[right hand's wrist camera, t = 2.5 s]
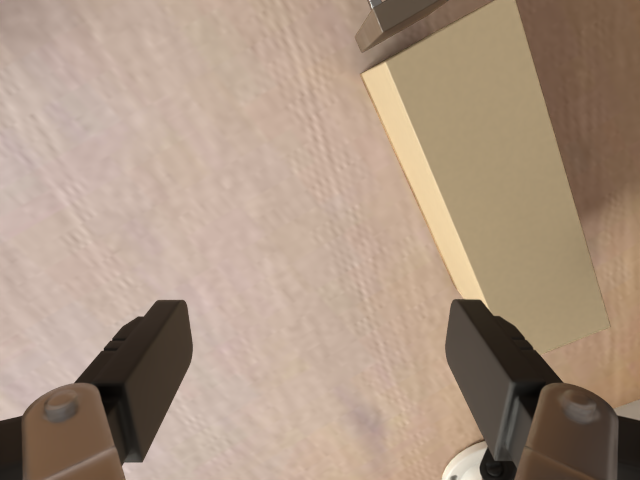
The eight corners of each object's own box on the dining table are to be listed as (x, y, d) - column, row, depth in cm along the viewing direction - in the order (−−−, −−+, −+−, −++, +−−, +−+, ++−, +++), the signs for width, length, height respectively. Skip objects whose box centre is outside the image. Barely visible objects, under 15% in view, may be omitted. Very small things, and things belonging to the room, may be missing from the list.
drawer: (313, -57, 25) (311, -140, 16) (385, -103, 24) (424, -216, 15) (450, 255, 33) (498, 313, 24) (507, 229, 32) (578, 279, 23)
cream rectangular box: (359, 74, 28) (384, 61, 18) (438, 29, 27) (513, -11, 17) (454, 285, 35) (512, 366, 25) (521, 256, 34) (611, 327, 24)
